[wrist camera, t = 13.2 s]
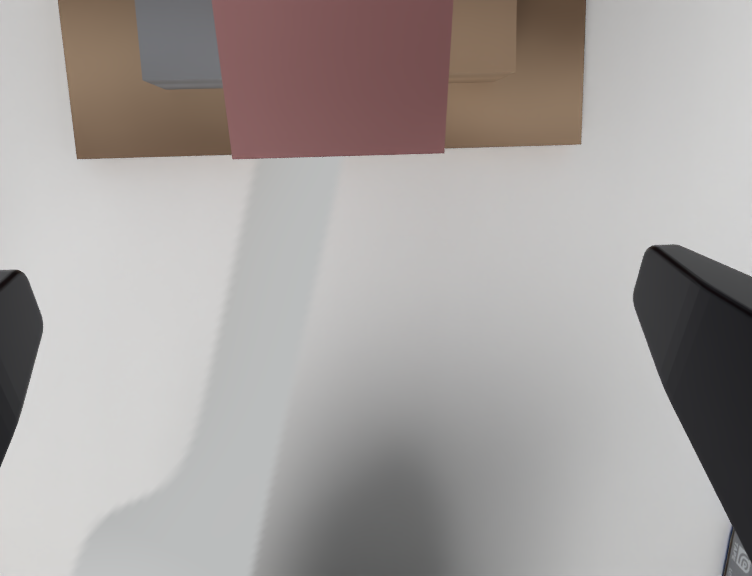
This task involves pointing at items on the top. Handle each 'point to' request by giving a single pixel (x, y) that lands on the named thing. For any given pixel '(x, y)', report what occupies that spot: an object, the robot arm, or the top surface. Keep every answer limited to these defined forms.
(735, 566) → the label tape cartridge
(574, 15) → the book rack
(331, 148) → the dusty red block
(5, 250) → the top surface
